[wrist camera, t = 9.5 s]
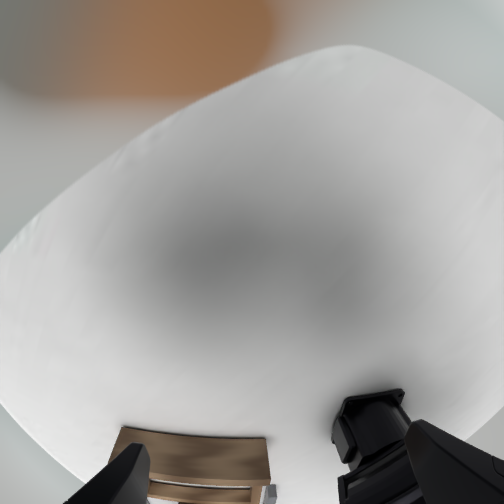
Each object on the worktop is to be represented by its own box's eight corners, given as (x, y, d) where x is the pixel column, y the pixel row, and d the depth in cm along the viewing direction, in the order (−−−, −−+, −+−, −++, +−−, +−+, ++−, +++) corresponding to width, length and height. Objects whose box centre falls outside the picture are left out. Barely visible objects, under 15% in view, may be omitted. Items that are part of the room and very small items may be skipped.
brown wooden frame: (265, 438, 23) (270, 479, 18) (257, 492, 26) (260, 524, 21) (121, 426, 22) (107, 463, 17) (144, 484, 25) (137, 513, 20)
